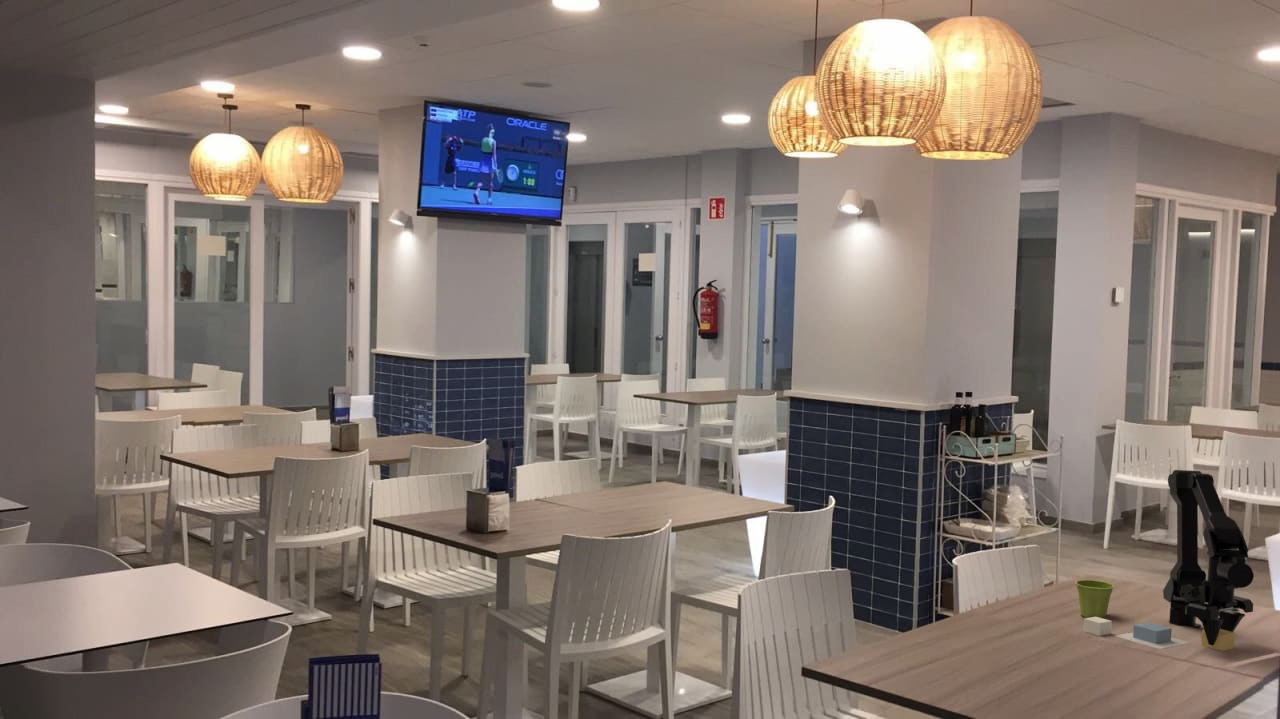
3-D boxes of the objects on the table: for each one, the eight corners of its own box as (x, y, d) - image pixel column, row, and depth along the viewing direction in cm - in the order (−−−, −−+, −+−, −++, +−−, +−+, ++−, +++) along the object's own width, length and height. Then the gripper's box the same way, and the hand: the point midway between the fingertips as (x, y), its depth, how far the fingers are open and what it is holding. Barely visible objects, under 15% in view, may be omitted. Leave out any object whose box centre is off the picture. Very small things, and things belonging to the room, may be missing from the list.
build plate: (1144, 633, 282) (1144, 629, 282) (1189, 645, 272) (1190, 642, 272) (1114, 639, 276) (1114, 635, 276) (1159, 652, 265) (1160, 648, 265)
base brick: (1148, 634, 278) (1148, 622, 278) (1171, 640, 273) (1171, 628, 273) (1133, 637, 275) (1133, 625, 274) (1155, 643, 270) (1156, 631, 269)
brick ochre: (1213, 643, 273) (1214, 627, 272) (1233, 649, 268) (1234, 632, 268) (1201, 646, 270) (1202, 629, 270) (1221, 652, 266) (1222, 635, 266)
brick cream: (1094, 632, 282) (1095, 616, 281) (1111, 637, 278) (1111, 621, 278) (1083, 634, 279) (1084, 618, 279) (1099, 639, 275) (1100, 623, 275)
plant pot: (1107, 623, 290) (1108, 590, 290) (1069, 616, 296) (1070, 583, 295) (1117, 616, 297) (1118, 583, 297) (1079, 610, 303) (1081, 578, 303)
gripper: (1211, 567, 280) (1207, 630, 281) (1166, 574, 270) (1162, 639, 271) (1256, 577, 271) (1252, 641, 272) (1210, 584, 261) (1207, 652, 262)
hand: (1217, 643), depth 269 cm, fingers closed on brick ochre, 5 cm apart
